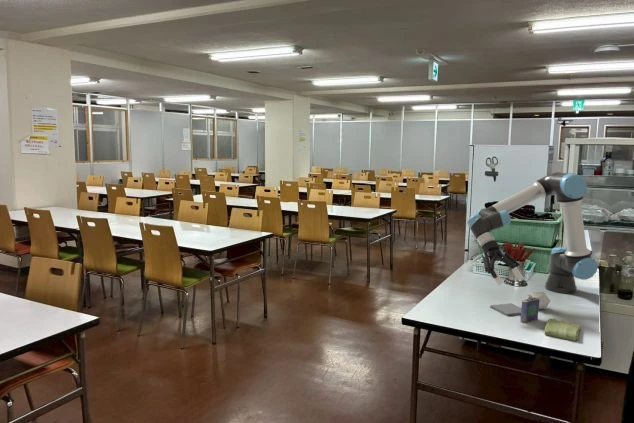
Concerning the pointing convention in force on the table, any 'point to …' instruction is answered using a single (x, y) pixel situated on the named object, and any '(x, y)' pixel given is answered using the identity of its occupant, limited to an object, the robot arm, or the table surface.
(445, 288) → the table surface
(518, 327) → the table surface
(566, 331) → the washcloth
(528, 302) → the flask
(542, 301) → the die
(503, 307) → the mat
